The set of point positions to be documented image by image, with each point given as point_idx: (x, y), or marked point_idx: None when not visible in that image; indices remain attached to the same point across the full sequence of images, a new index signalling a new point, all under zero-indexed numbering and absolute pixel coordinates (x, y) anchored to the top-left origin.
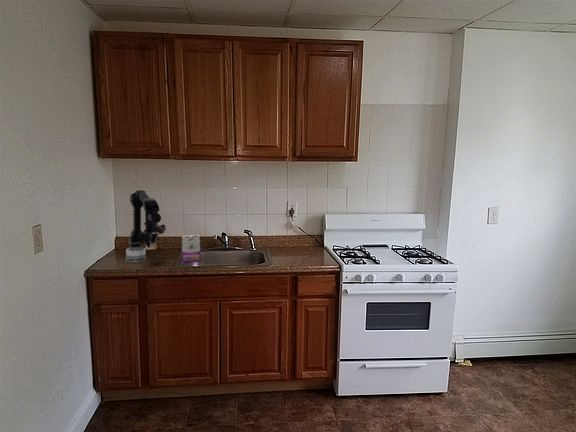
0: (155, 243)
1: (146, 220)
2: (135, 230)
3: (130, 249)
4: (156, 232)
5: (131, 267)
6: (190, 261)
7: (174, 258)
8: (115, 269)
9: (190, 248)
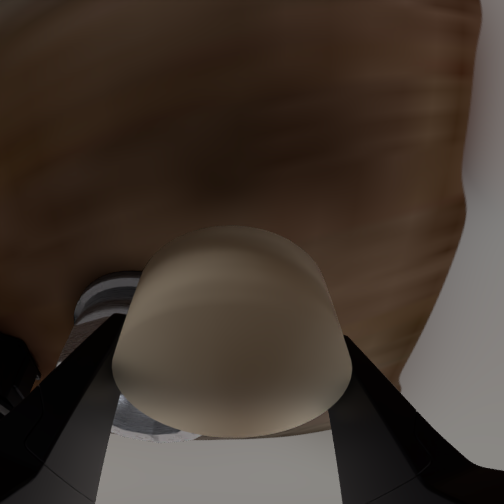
0: (227, 320)
1: None
2: None
3: (124, 422)
4: None
5: (365, 304)
6: None
7: (28, 34)
8: (386, 358)
9: None
